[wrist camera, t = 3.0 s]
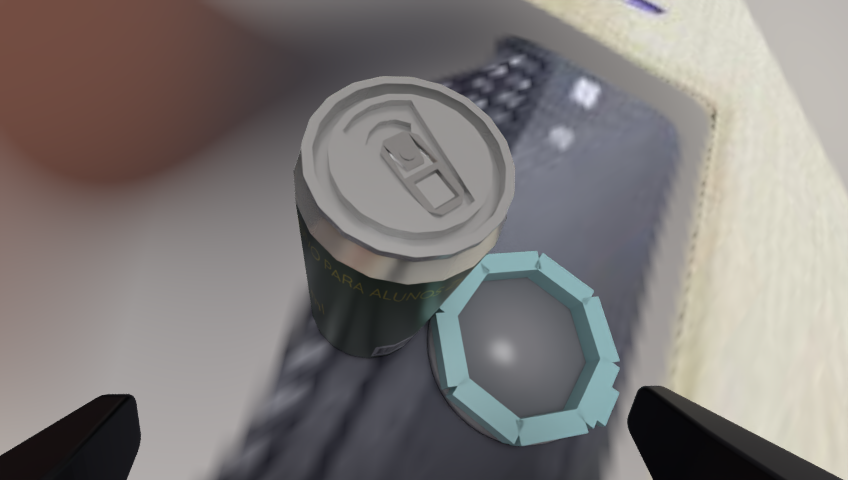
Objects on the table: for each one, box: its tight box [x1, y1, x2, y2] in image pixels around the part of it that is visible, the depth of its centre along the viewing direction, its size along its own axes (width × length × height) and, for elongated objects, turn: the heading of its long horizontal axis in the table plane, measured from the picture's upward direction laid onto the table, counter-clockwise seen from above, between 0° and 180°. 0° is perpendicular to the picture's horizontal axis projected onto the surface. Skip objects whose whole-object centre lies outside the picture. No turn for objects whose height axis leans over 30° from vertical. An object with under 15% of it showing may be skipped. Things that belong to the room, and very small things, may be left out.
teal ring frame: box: [427, 251, 620, 446], centre depth 20 cm, size 9×10×2 cm
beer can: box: [294, 76, 515, 358], centre depth 14 cm, size 5×5×12 cm
